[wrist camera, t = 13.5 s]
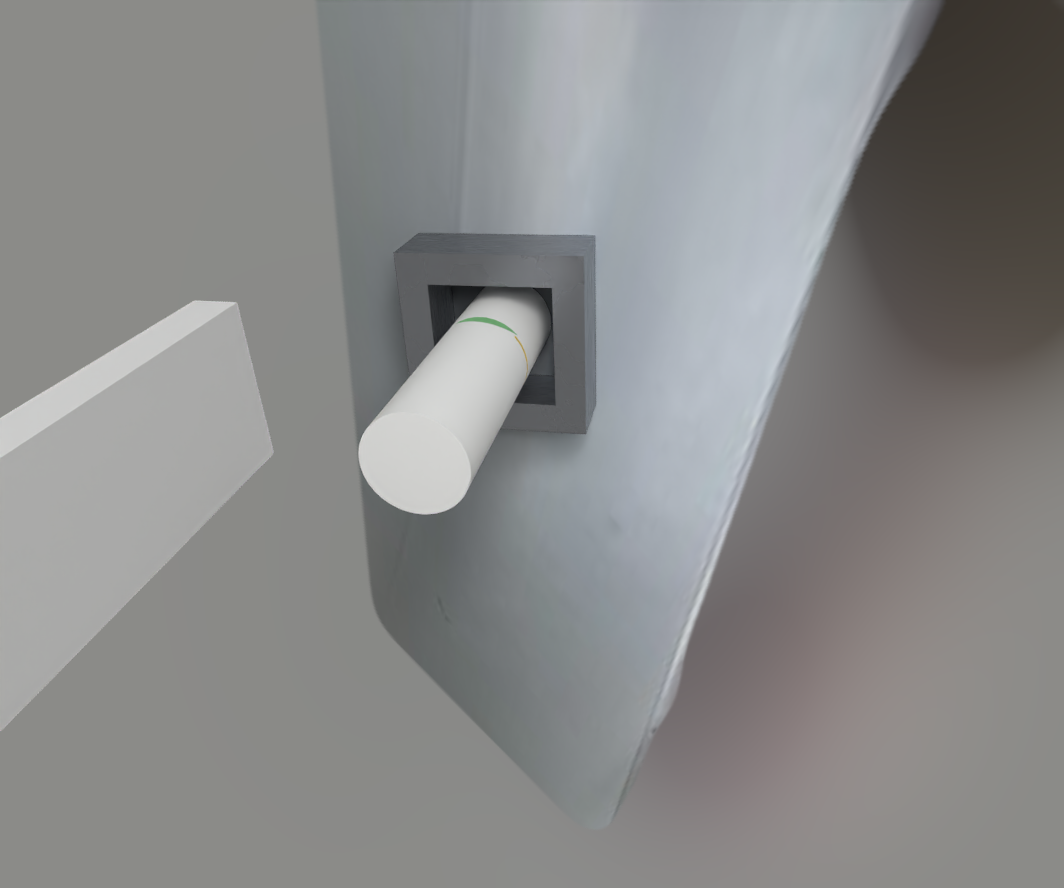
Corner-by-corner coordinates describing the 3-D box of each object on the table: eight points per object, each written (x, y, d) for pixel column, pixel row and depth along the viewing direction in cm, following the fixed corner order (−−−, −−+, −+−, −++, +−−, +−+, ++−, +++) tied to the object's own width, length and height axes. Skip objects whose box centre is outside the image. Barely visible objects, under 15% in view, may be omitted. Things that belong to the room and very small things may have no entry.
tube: (567, 329, 42) (495, 480, 29) (506, 372, 44) (413, 532, 31) (515, 263, 41) (414, 390, 28) (454, 311, 43) (335, 449, 30)
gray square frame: (418, 233, 41) (393, 252, 38) (595, 235, 39) (583, 256, 36) (436, 394, 45) (415, 423, 42) (596, 403, 44) (585, 433, 41)
